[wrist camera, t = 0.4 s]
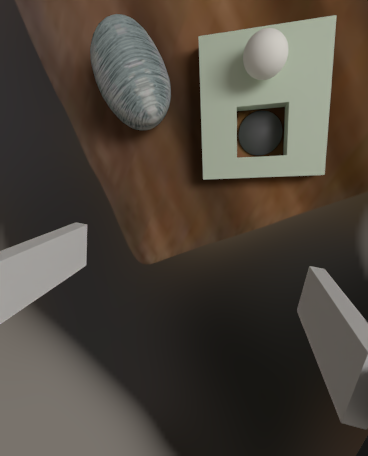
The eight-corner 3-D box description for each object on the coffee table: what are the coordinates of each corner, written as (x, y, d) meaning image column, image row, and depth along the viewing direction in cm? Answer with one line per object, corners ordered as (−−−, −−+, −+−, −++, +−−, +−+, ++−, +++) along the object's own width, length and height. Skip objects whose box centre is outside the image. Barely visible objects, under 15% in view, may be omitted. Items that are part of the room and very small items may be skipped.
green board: (201, 46, 36) (198, 36, 33) (327, 28, 33) (336, 15, 30) (205, 178, 40) (203, 179, 37) (317, 174, 37) (324, 174, 34)
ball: (242, 43, 32) (243, 22, 27) (285, 37, 31) (293, 14, 26) (242, 87, 33) (243, 74, 29) (283, 82, 32) (291, 69, 28)
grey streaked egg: (75, 42, 36) (70, 9, 27) (139, 24, 38) (154, -13, 29) (116, 140, 41) (124, 140, 32) (170, 120, 43) (191, 114, 34)
